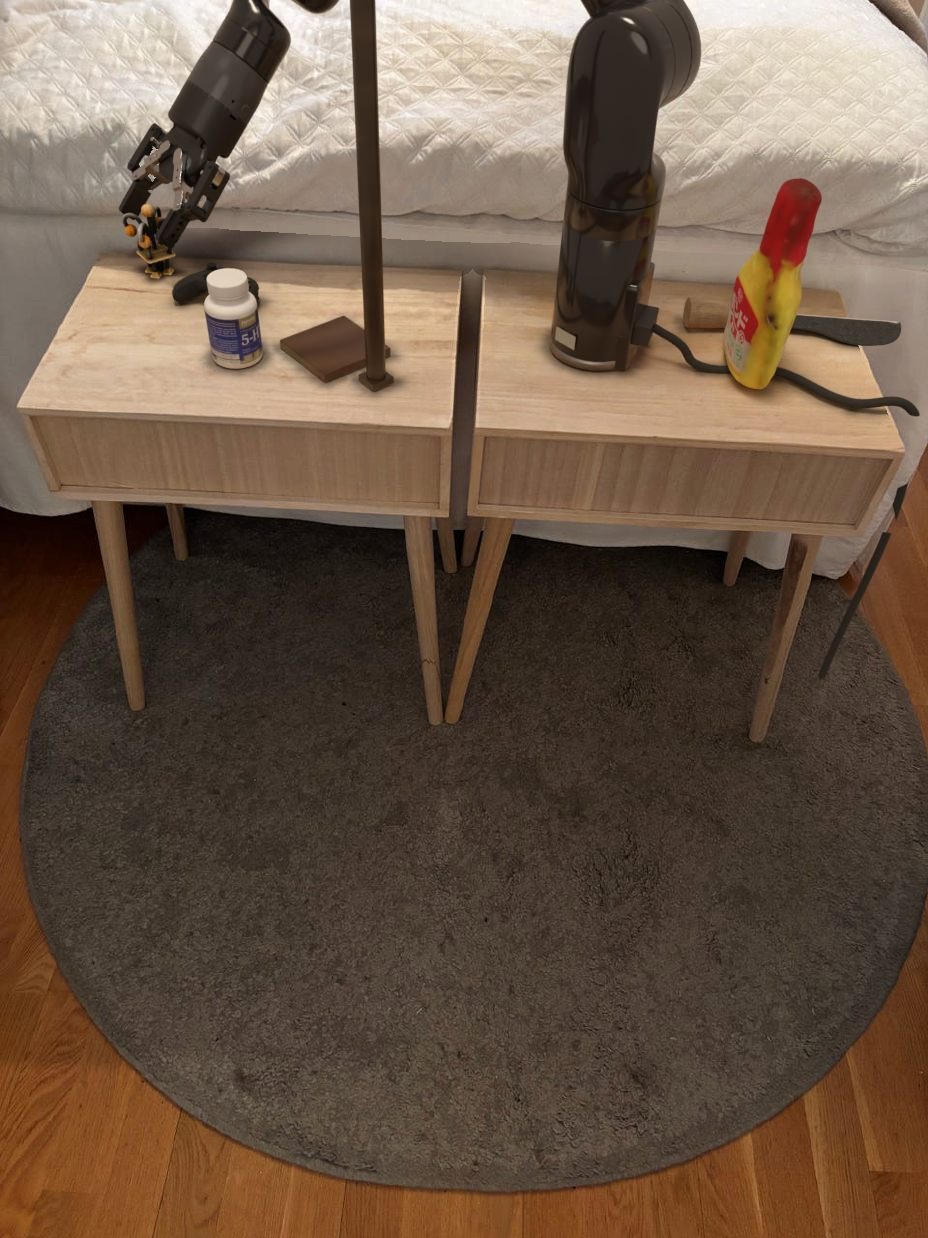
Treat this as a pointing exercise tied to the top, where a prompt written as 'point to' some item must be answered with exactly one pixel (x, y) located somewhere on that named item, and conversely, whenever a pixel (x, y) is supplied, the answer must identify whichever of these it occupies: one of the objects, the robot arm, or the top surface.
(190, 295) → the game controller
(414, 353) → the top surface
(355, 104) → the display stand
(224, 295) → the pill bottle
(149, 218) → the decorative sculpture
